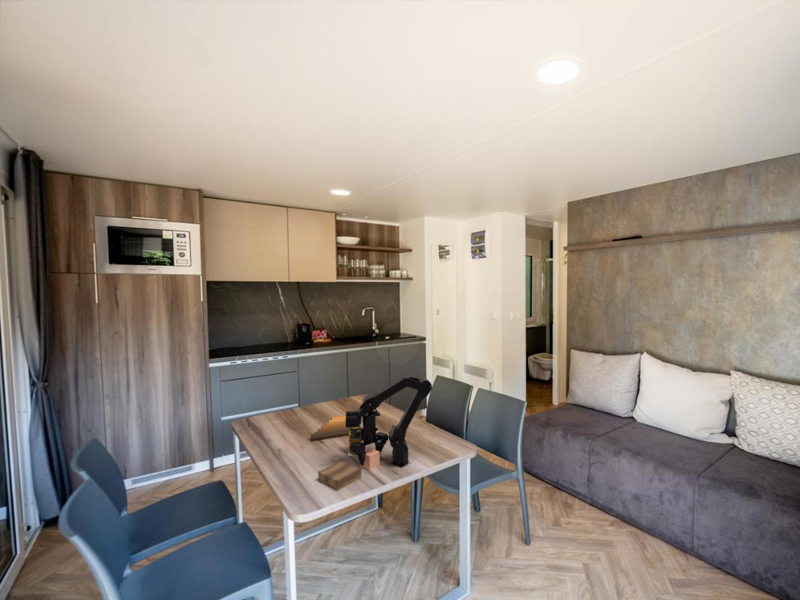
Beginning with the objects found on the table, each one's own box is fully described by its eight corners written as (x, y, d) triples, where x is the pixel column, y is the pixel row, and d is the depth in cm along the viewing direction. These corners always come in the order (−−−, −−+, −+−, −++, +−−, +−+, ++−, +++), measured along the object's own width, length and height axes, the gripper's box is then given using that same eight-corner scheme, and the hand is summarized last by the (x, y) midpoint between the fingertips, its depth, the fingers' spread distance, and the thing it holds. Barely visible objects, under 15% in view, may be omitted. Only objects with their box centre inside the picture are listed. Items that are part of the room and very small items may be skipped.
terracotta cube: (379, 465, 159) (379, 451, 159) (369, 470, 155) (369, 456, 155) (369, 461, 163) (369, 447, 163) (359, 466, 159) (359, 452, 159)
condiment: (348, 449, 176) (348, 424, 176) (366, 448, 177) (366, 423, 176) (348, 456, 169) (347, 430, 168) (366, 455, 169) (366, 429, 169)
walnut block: (361, 479, 148) (361, 469, 148) (338, 491, 139) (338, 481, 139) (341, 470, 156) (341, 460, 156) (318, 481, 147) (318, 471, 147)
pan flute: (311, 442, 185) (359, 435, 195) (311, 436, 185) (359, 428, 195) (304, 426, 209) (348, 420, 218) (304, 420, 208) (347, 414, 218)
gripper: (371, 416, 171) (371, 449, 171) (340, 427, 157) (341, 464, 157) (389, 421, 164) (389, 456, 164) (358, 434, 150) (359, 472, 150)
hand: (369, 461), depth 159 cm, fingers open, 9 cm apart
